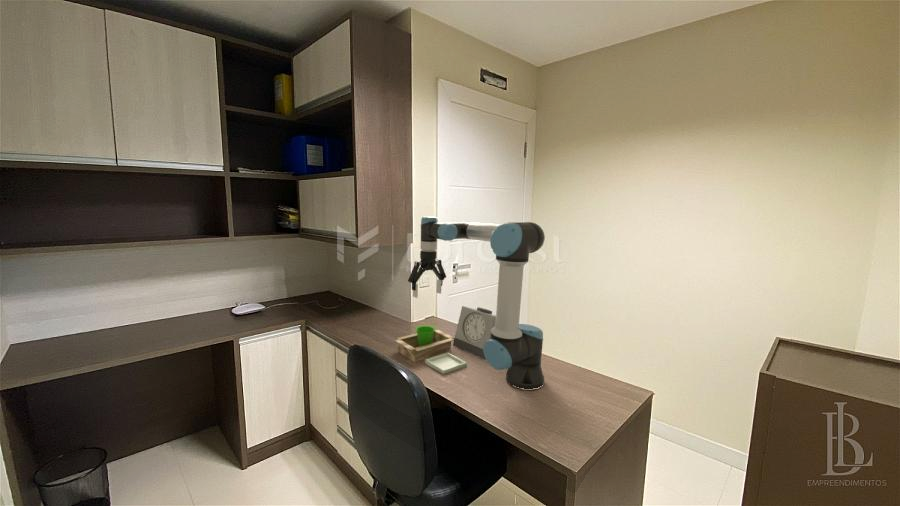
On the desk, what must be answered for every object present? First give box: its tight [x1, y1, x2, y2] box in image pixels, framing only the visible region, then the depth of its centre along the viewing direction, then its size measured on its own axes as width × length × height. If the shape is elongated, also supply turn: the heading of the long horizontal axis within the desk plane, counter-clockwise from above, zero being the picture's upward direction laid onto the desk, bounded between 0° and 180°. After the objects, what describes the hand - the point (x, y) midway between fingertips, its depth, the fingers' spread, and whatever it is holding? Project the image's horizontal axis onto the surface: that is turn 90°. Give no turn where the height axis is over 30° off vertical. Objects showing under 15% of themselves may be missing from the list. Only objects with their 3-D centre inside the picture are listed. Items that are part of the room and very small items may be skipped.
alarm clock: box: [452, 305, 496, 360], centre depth 178 cm, size 20×16×20 cm
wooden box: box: [394, 329, 455, 363], centre depth 173 cm, size 17×25×6 cm
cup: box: [415, 325, 436, 347], centre depth 173 cm, size 9×9×11 cm
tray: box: [424, 351, 468, 376], centre depth 160 cm, size 13×13×2 cm
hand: (427, 295), depth 171 cm, fingers open, 13 cm apart
